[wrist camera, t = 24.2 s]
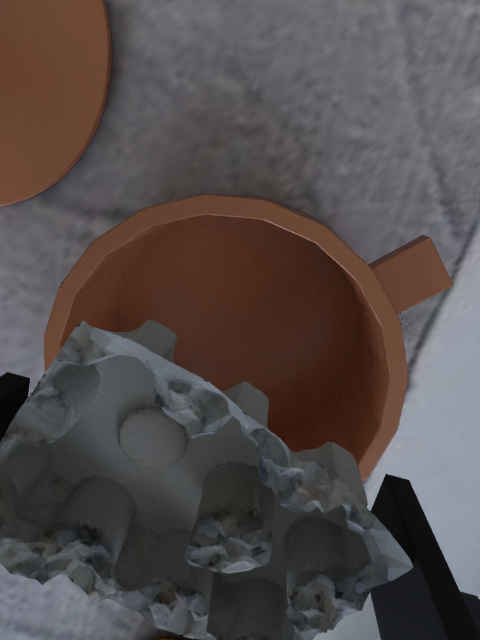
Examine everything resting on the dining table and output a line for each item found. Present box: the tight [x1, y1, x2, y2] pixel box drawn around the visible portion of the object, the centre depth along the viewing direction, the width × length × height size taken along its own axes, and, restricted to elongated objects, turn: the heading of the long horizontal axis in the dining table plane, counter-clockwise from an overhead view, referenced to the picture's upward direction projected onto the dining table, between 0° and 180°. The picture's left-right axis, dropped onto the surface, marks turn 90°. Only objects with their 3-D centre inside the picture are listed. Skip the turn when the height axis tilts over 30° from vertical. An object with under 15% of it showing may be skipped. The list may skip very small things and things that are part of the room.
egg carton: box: [0, 320, 413, 640], centre depth 13 cm, size 11×8×4 cm
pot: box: [44, 194, 453, 482], centre depth 24 cm, size 17×22×8 cm
